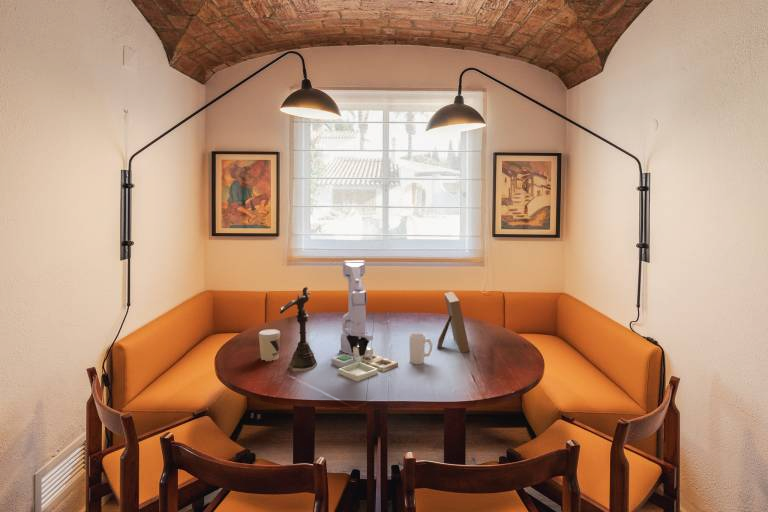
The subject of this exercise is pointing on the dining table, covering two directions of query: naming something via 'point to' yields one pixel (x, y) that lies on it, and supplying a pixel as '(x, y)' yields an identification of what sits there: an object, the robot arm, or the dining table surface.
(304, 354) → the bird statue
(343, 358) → the button
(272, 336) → the coffee cup
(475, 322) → the dining table surface
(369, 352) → the billet
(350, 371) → the tray
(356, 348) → the billet
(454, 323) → the photo frame
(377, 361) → the cream parts tray
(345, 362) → the button housing
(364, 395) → the dining table surface
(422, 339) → the mug
